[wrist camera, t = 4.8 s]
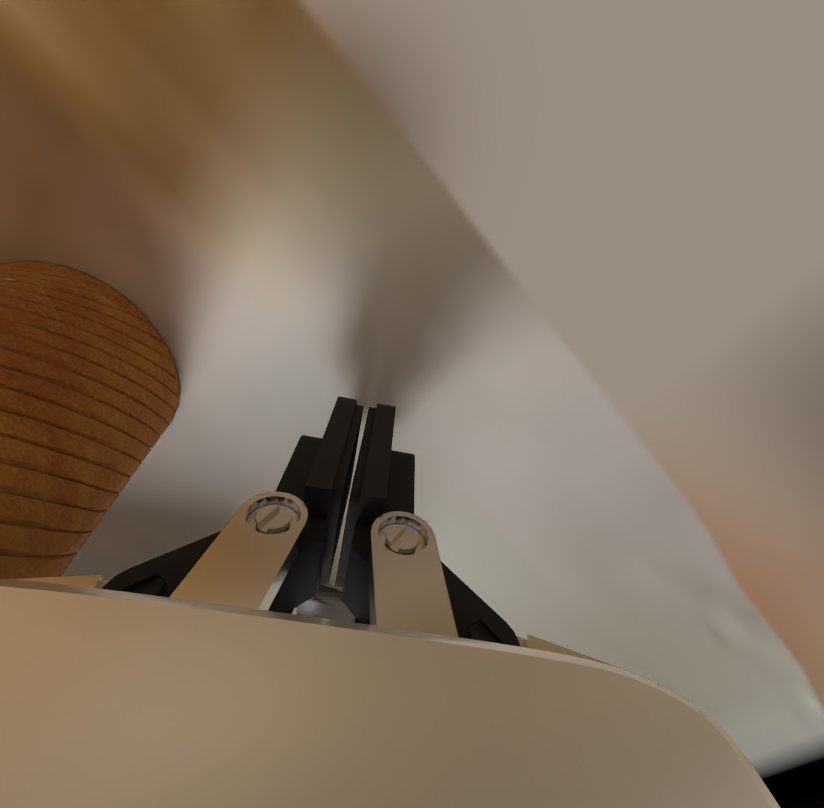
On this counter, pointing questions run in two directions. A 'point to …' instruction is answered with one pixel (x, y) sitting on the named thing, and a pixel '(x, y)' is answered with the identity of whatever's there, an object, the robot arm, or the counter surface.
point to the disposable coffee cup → (71, 409)
